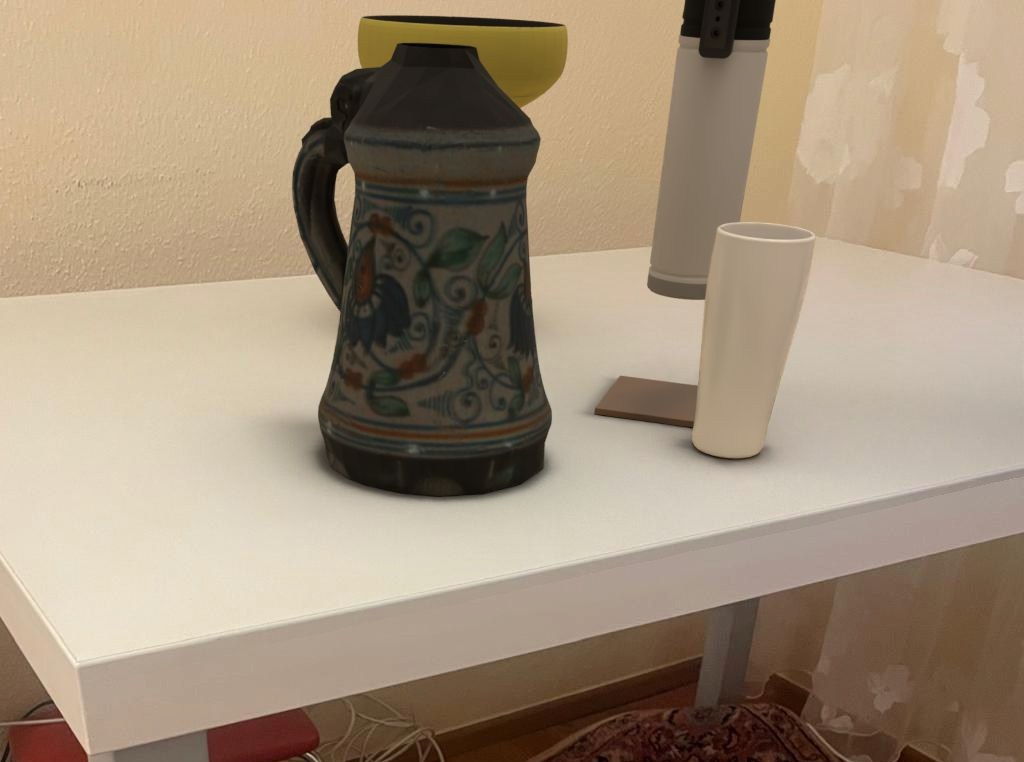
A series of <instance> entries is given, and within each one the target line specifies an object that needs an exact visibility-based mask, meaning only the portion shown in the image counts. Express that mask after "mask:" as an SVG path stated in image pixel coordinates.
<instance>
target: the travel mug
mask: <svg viewBox="0 0 1024 762" xmlns="http://www.w3.org/2000/svg"><path fill="white" fill-rule="evenodd" d="M776 2H777V0H740V5H739V12H738V18H737V25H736V31H735V38H734V44H733V51H732V53H731V55H730V56H729V57H727V58H724V59H720V58H704V57H702V56H701V55H700V54H699V43H700V35H701V28H702V21H703V14H704V7H705V0H684V4H683V5H684V6H683V12H682V15H681V16H682V20H683V22H682V24H681V25H680V31H679V32H680V33H679V34H678V43H679V47H677V50H676V58H675V65H674V73H673V81H672V87H671V96H670V103H669V112H668V119H667V126H666V127H667V128H666V135H665V141H664V142H665V143H664V150H663V157H662V158H663V159H662V166H661V172H660V173H661V174H660V181H659V189H658V197H657V204H656V212H655V221H654V228H653V234H652V235H653V236H652V242H651V243H652V244H651V251H650V259H649V264H650V266H649V268H648V274H647V282H646V286H647V288H648V290H650V292H652V293H654V294H656V295H659V296H663V297H666V298H670V299H677V300H689V301H705V293H706V285H707V278H708V271H709V265H710V260H711V254H712V249H713V245H714V240H715V235H716V230H717V228H718V227H719V226H720V225H723V224H727V223H735V222H741V218H742V212H743V206H744V201H745V200H744V199H745V194H746V187H747V182H748V176H749V170H750V164H751V157H752V151H753V146H754V140H755V134H756V129H757V128H756V127H757V121H758V116H759V110H760V103H761V97H762V92H763V87H764V80H765V73H766V67H767V61H768V56H769V52H768V51H767V49H768V48H769V47H770V44H771V39H770V38H771V33H772V28H771V24H772V23H773V20H774V14H775V7H776Z"/></svg>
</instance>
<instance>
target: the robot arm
mask: <svg viewBox="0 0 1024 762" xmlns="http://www.w3.org/2000/svg"><path fill="white" fill-rule="evenodd" d="M739 5H740V0H705V7H704V14H703V21H702V28H701V35H700V43H699V54H700V55H701V56H702V57H704V58H720V59H724V58H727V57H729V56H730V55H731V53H732V51H733V44H734V38H735V31H736V25H737V18H738V12H739Z"/></svg>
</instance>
